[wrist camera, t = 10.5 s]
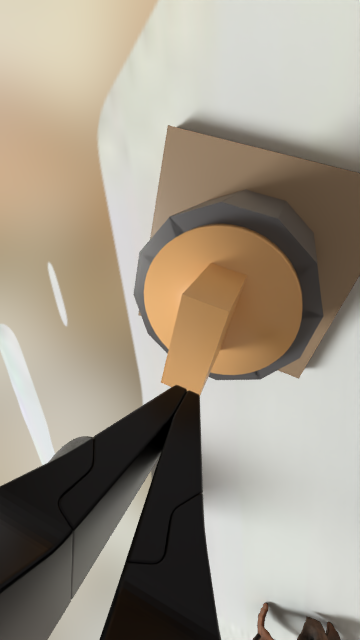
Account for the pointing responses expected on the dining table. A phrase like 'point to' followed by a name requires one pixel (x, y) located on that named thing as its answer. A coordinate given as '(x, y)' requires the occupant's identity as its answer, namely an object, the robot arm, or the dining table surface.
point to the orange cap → (221, 303)
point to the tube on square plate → (263, 223)
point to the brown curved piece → (312, 632)
